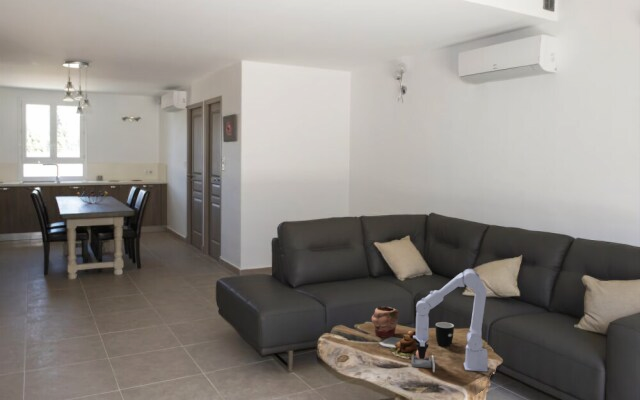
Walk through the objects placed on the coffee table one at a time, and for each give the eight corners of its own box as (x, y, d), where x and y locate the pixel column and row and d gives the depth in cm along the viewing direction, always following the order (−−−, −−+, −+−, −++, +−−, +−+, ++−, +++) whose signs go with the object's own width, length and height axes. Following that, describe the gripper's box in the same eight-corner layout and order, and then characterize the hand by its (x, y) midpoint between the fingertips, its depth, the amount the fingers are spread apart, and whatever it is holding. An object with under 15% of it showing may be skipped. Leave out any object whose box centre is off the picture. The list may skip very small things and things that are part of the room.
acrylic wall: (433, 361, 250) (433, 355, 250) (434, 372, 238) (434, 365, 238) (431, 361, 250) (431, 355, 250) (433, 372, 238) (433, 365, 238)
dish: (430, 360, 251) (430, 357, 251) (431, 367, 243) (431, 364, 243) (411, 359, 253) (411, 356, 252) (411, 366, 244) (412, 363, 244)
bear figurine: (402, 346, 270) (402, 322, 269) (428, 353, 260) (428, 329, 259) (385, 353, 260) (386, 328, 259) (412, 361, 250) (413, 336, 249)
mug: (448, 349, 266) (448, 329, 265) (431, 344, 272) (432, 325, 271) (459, 342, 275) (459, 323, 274) (442, 338, 281) (443, 319, 280)
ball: (426, 357, 250) (427, 347, 249) (427, 361, 245) (427, 351, 244) (415, 357, 250) (416, 346, 250) (415, 361, 245) (416, 350, 245)
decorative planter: (387, 326, 299) (387, 302, 298) (406, 331, 291) (406, 306, 290) (365, 336, 284) (366, 310, 283) (384, 341, 276) (385, 314, 275)
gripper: (412, 321, 254) (412, 350, 255) (413, 332, 240) (412, 361, 241) (428, 322, 253) (427, 350, 254) (429, 332, 239) (429, 362, 240)
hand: (421, 356), depth 247 cm, fingers closed on ball, 5 cm apart
